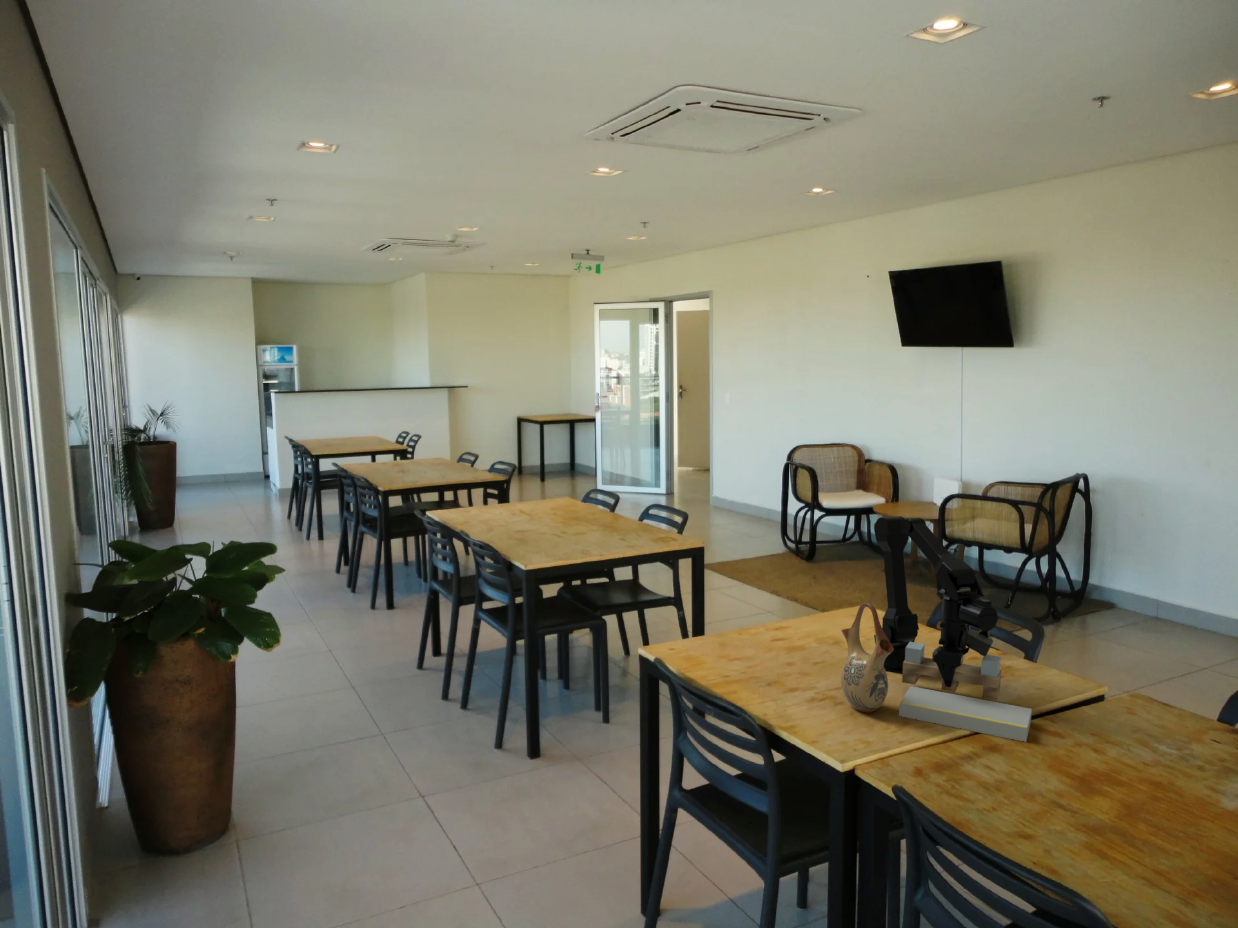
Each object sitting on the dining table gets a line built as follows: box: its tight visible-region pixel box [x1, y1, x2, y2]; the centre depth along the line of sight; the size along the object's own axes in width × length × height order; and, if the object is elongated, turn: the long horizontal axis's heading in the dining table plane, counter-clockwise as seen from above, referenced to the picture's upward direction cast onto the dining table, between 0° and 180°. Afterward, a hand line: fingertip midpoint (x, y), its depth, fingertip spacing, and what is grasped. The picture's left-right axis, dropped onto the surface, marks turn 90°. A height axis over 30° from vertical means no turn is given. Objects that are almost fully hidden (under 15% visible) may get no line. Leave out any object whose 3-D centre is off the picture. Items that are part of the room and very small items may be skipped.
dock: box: [898, 686, 1033, 743], centre depth 194 cm, size 26×12×3 cm, turn 61°
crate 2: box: [980, 654, 1002, 678], centre depth 202 cm, size 4×5×4 cm
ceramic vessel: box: [840, 601, 894, 713], centre depth 198 cm, size 16×9×25 cm, turn 22°
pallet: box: [901, 656, 1002, 701], centre depth 207 cm, size 21×6×5 cm, turn 61°
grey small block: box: [905, 641, 926, 664], centre depth 210 cm, size 4×5×4 cm
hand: (950, 682), depth 207 cm, fingers closed on pallet, 6 cm apart
